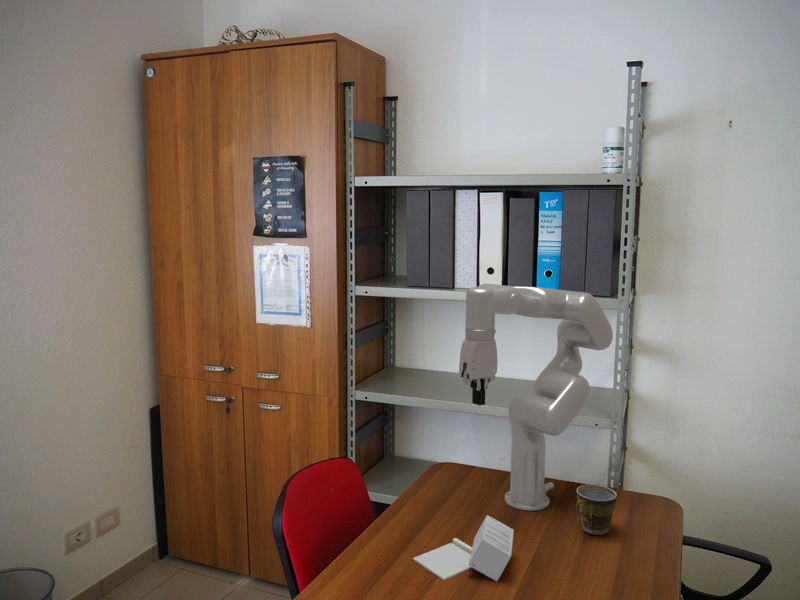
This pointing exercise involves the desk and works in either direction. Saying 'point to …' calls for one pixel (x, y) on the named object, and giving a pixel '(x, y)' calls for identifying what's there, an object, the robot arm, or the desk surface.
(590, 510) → the ceramic cup
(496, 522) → the supplement box
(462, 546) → the strip
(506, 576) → the desk surface
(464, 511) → the desk surface
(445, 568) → the mat
